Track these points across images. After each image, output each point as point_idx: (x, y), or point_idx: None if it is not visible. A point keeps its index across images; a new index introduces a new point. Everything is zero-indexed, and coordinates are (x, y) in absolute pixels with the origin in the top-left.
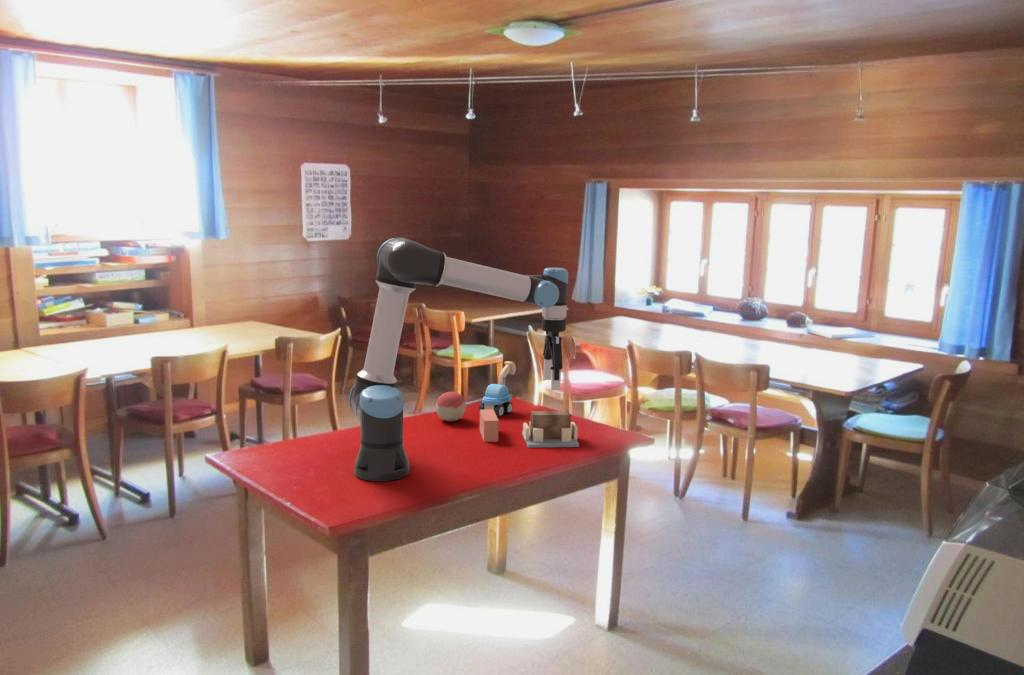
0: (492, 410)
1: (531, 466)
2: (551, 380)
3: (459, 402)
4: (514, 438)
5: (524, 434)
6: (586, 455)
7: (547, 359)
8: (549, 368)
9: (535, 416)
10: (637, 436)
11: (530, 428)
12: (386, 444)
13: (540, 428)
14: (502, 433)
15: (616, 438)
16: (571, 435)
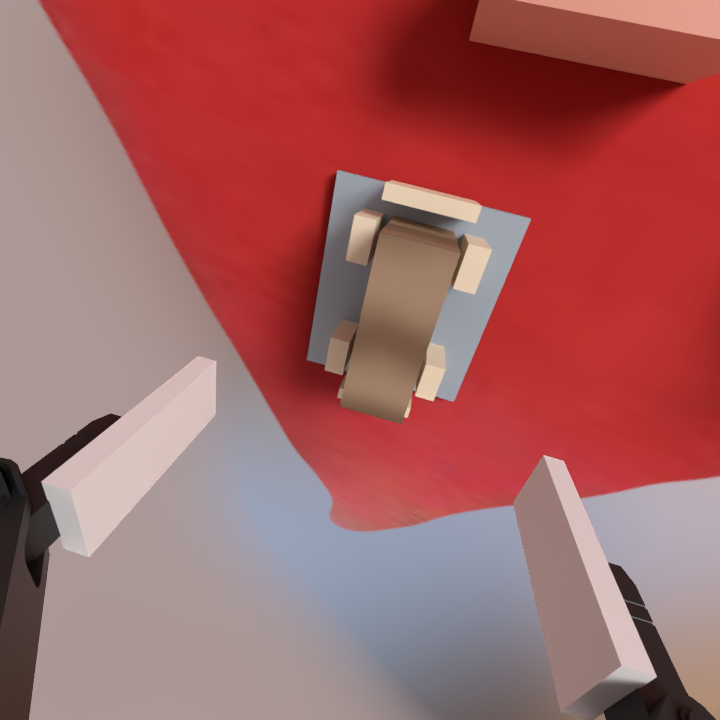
0: None
1: (129, 93)
2: (151, 401)
3: None
4: (481, 154)
5: (430, 190)
6: (229, 337)
7: (626, 698)
8: (548, 580)
9: (377, 245)
10: (359, 525)
11: (453, 235)
12: None
13: (362, 253)
14: (584, 117)
15: (358, 479)
16: None
